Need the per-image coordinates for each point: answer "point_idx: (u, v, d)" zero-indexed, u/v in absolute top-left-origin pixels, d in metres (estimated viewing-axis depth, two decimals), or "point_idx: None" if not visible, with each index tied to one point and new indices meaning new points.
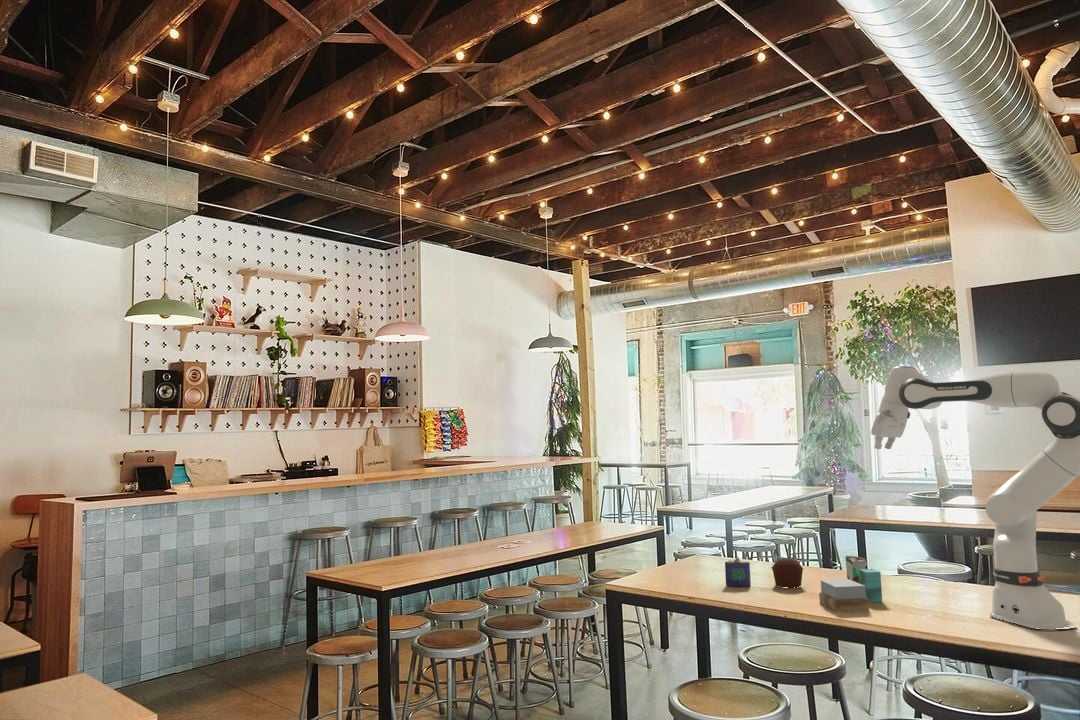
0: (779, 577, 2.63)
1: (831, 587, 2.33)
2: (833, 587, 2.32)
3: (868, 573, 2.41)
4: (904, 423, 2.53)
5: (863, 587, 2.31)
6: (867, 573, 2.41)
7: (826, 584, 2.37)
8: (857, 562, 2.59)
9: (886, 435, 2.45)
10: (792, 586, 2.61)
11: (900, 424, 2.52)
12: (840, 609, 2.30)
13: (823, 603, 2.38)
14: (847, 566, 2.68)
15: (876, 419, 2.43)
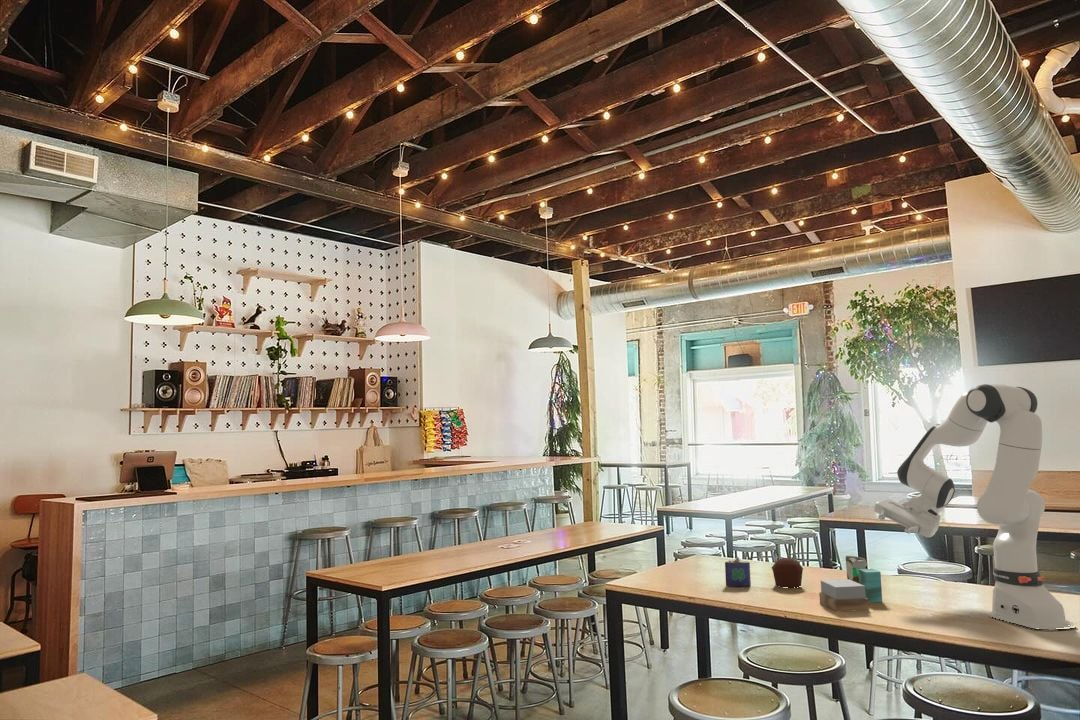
0: (779, 577, 2.63)
1: (831, 587, 2.33)
2: (833, 587, 2.32)
3: (868, 573, 2.41)
4: (932, 520, 2.42)
5: (863, 587, 2.31)
6: (867, 573, 2.41)
7: (826, 584, 2.36)
8: (857, 562, 2.59)
9: (888, 508, 2.49)
10: (792, 586, 2.61)
11: (926, 520, 2.43)
12: (841, 609, 2.30)
13: (823, 603, 2.38)
14: (847, 566, 2.68)
15: None
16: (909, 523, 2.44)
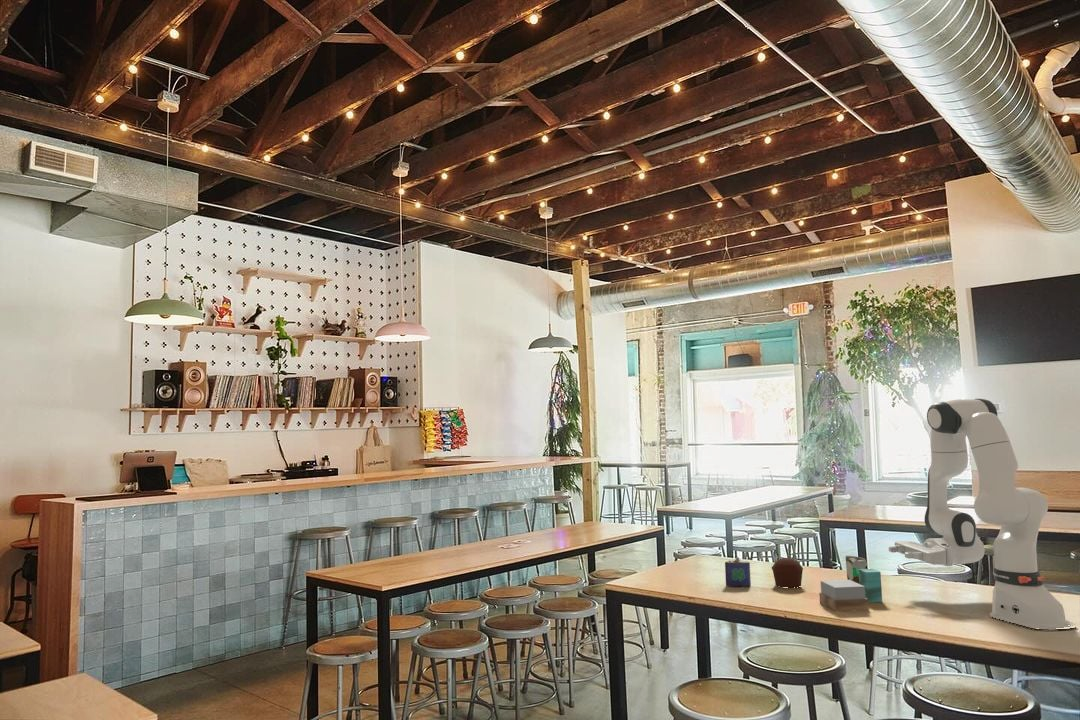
0: (779, 577, 2.63)
1: (830, 587, 2.33)
2: (832, 588, 2.32)
3: (868, 573, 2.41)
4: (939, 550, 2.39)
5: (863, 587, 2.31)
6: (867, 573, 2.41)
7: (826, 584, 2.36)
8: (857, 562, 2.59)
9: (903, 543, 2.51)
10: (792, 586, 2.61)
11: (934, 550, 2.40)
12: (840, 609, 2.30)
13: (823, 603, 2.38)
14: (847, 566, 2.68)
15: None
16: None
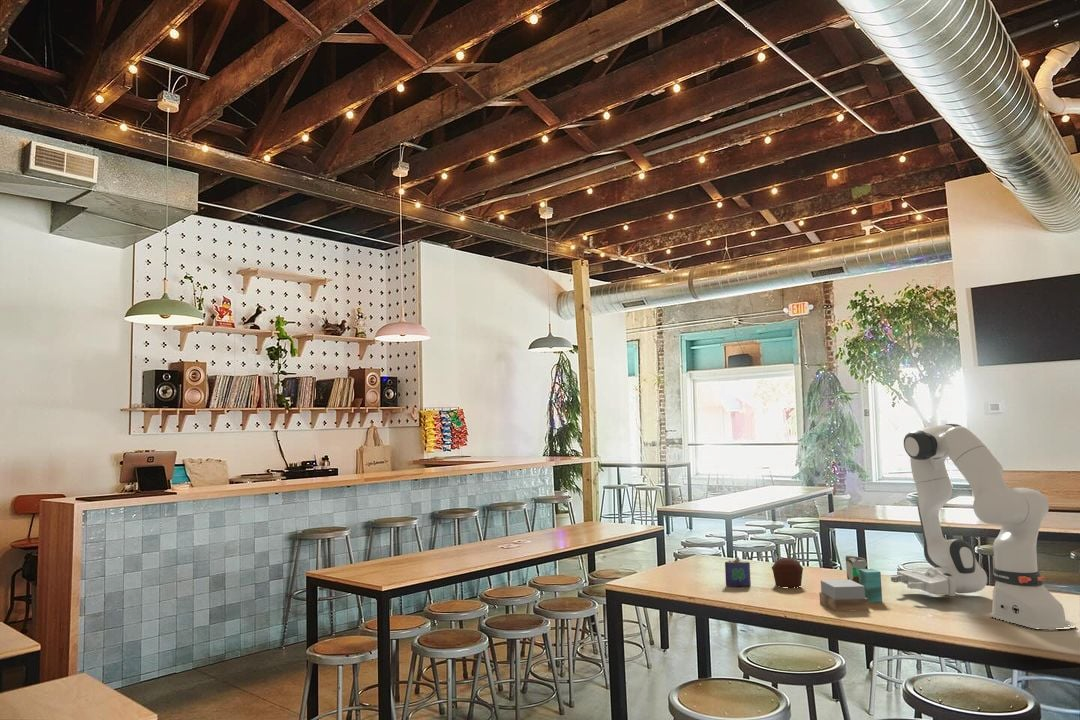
0: (779, 577, 2.63)
1: (830, 587, 2.33)
2: (832, 587, 2.32)
3: (868, 573, 2.41)
4: (942, 579, 2.37)
5: (862, 587, 2.31)
6: (867, 573, 2.41)
7: (825, 584, 2.37)
8: (857, 562, 2.59)
9: (905, 573, 2.50)
10: (792, 586, 2.61)
11: (937, 580, 2.39)
12: (840, 609, 2.30)
13: (823, 603, 2.38)
14: (847, 566, 2.68)
15: None
16: None
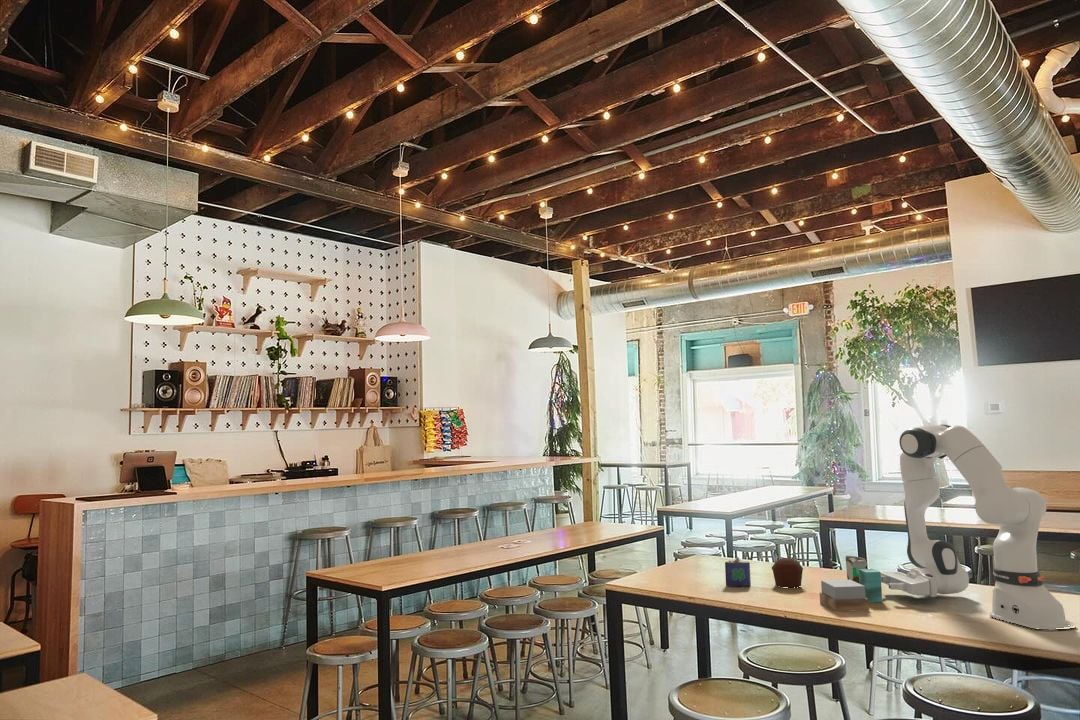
0: (779, 577, 2.63)
1: (830, 587, 2.34)
2: (832, 587, 2.32)
3: (868, 573, 2.41)
4: (923, 580, 2.37)
5: (863, 587, 2.31)
6: (867, 573, 2.41)
7: (826, 584, 2.37)
8: (857, 562, 2.59)
9: (887, 574, 2.49)
10: (792, 586, 2.61)
11: (918, 581, 2.38)
12: (840, 609, 2.30)
13: (823, 603, 2.38)
14: (847, 566, 2.68)
15: None
16: None
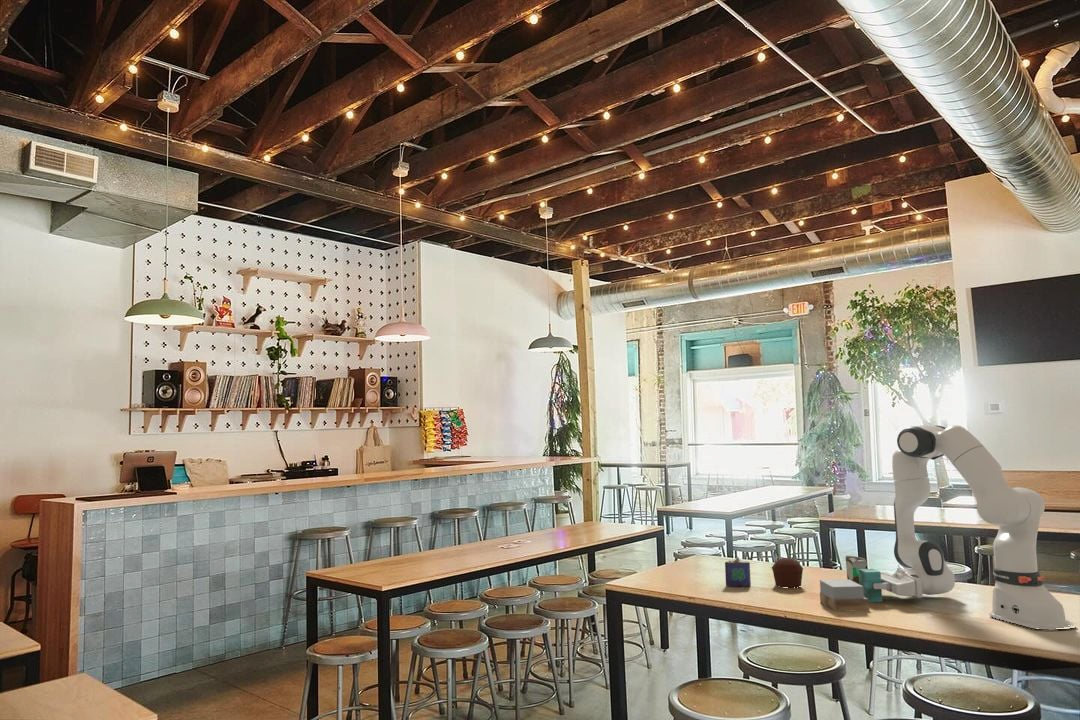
0: (779, 577, 2.63)
1: (829, 587, 2.34)
2: (830, 587, 2.33)
3: (868, 573, 2.41)
4: (909, 581, 2.36)
5: (861, 587, 2.31)
6: (867, 573, 2.41)
7: (824, 584, 2.37)
8: (857, 562, 2.59)
9: None
10: (792, 586, 2.61)
11: (904, 582, 2.38)
12: (841, 609, 2.30)
13: (823, 603, 2.38)
14: (847, 566, 2.68)
15: None
16: None
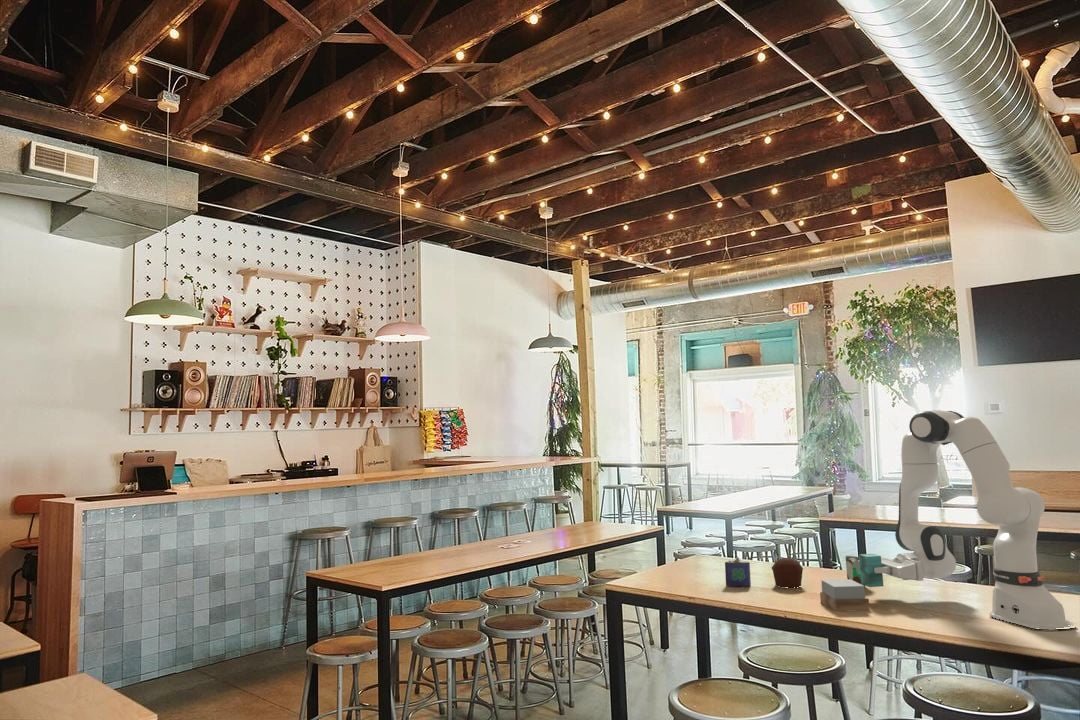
0: (779, 577, 2.63)
1: (830, 587, 2.34)
2: (832, 587, 2.33)
3: (869, 557, 2.41)
4: (909, 564, 2.36)
5: (862, 587, 2.31)
6: (867, 557, 2.41)
7: (826, 584, 2.37)
8: (857, 562, 2.59)
9: None
10: (792, 586, 2.61)
11: (905, 565, 2.38)
12: (841, 609, 2.30)
13: (824, 603, 2.38)
14: (847, 566, 2.68)
15: None
16: None
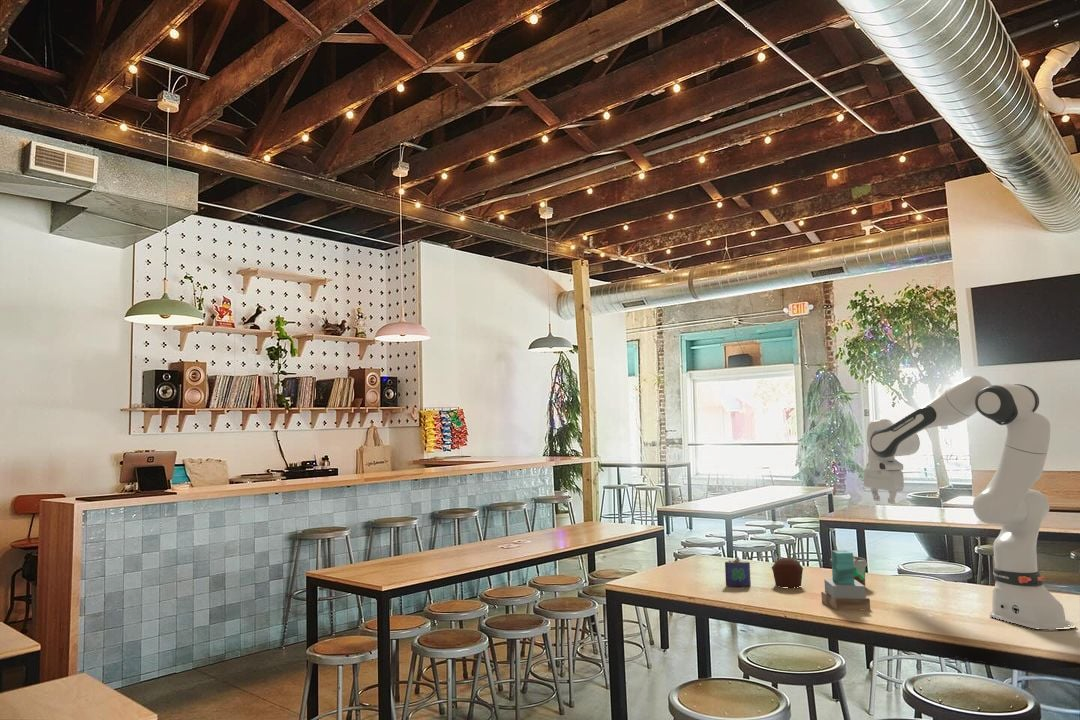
0: (779, 577, 2.63)
1: (830, 586, 2.35)
2: (832, 586, 2.34)
3: (840, 554, 2.35)
4: (889, 475, 2.53)
5: (863, 587, 2.31)
6: (839, 554, 2.35)
7: (827, 583, 2.38)
8: (857, 562, 2.59)
9: (870, 486, 2.66)
10: (792, 586, 2.61)
11: (887, 477, 2.55)
12: (842, 608, 2.31)
13: (825, 602, 2.39)
14: None
15: None
16: None
